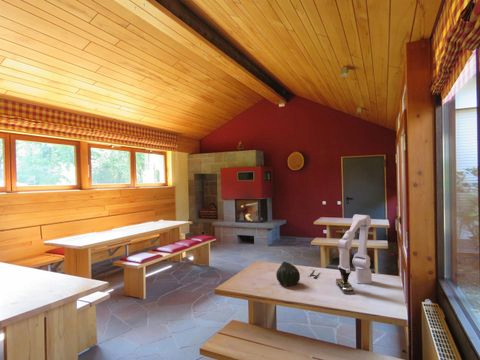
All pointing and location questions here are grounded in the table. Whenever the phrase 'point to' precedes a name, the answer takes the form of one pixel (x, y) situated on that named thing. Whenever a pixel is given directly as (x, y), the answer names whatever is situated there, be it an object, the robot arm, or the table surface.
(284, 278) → the squash
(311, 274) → the hacksaw
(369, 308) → the table surface
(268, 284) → the table surface
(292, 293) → the table surface
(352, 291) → the chain ends
